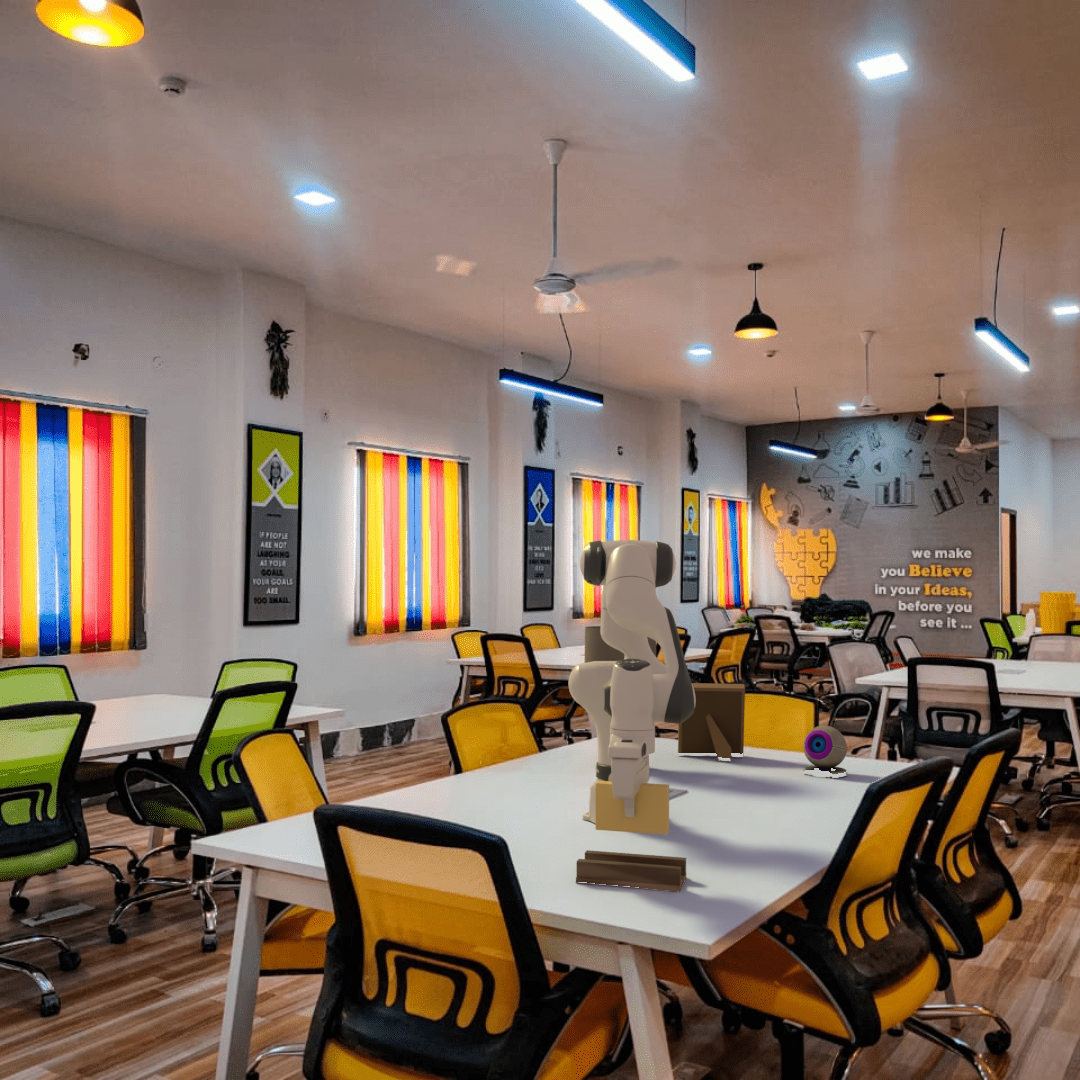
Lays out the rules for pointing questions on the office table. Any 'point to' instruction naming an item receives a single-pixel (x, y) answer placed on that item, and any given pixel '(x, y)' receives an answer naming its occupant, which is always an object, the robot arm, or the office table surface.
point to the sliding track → (632, 870)
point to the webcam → (825, 749)
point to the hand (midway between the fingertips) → (632, 814)
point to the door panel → (647, 809)
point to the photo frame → (714, 721)
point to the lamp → (604, 647)
